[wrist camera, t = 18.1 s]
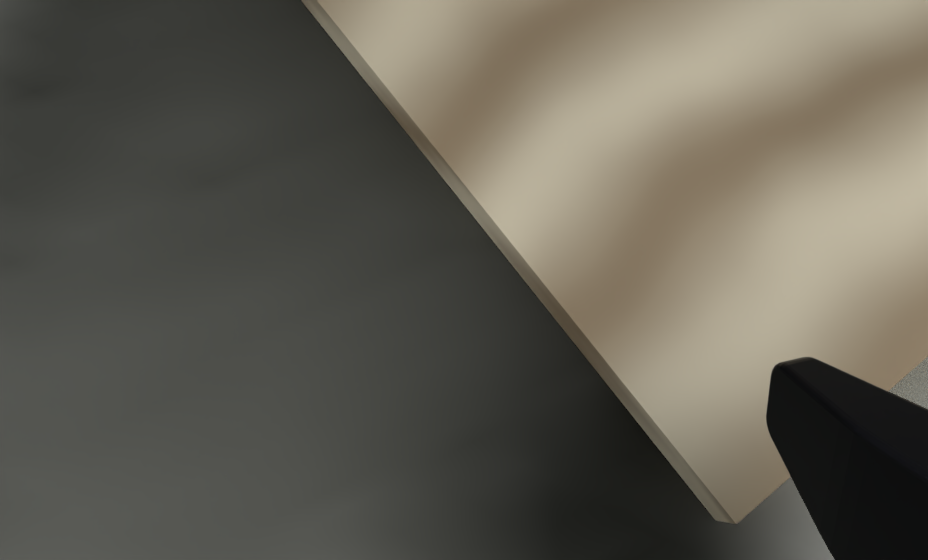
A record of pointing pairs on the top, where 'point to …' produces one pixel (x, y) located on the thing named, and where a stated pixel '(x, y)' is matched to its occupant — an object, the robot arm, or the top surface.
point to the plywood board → (683, 189)
